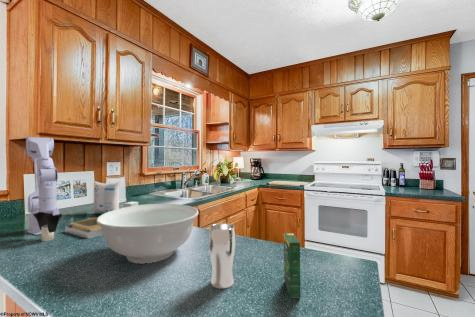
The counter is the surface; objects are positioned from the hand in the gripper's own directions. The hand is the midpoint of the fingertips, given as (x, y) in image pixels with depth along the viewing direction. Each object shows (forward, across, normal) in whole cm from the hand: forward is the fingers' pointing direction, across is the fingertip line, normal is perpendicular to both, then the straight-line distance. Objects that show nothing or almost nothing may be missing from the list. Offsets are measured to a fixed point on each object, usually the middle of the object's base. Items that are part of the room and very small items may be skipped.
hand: (47, 230), depth 99 cm
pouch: (+4, -21, +38) cm, 44 cm away
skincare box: (+4, +15, +28) cm, 32 cm away
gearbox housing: (+4, +4, +16) cm, 17 cm away
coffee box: (+4, +99, +12) cm, 100 cm away
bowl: (+4, +50, +10) cm, 51 cm away
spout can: (+4, 0, 0) cm, 4 cm away
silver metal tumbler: (+4, +82, +6) cm, 82 cm away
